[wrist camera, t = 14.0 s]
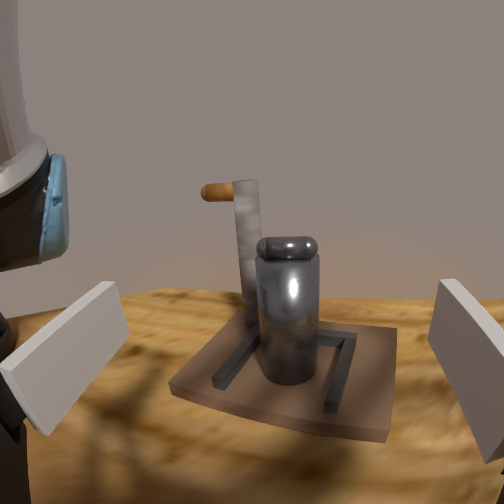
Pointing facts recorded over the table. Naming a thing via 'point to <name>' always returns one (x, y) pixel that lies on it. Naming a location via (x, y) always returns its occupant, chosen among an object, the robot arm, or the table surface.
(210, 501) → the table surface
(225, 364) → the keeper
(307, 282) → the grey metal canister
